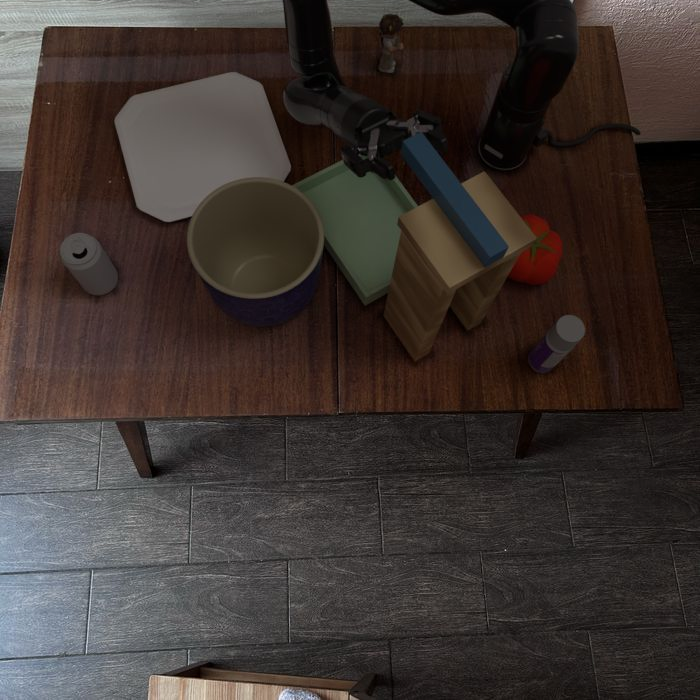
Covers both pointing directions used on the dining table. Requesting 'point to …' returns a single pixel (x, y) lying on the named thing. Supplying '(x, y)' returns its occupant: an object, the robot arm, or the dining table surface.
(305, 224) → the planter
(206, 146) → the plate
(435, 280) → the shelf
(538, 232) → the tomato
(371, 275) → the tray
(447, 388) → the dining table surface
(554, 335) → the container
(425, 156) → the bar
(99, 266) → the beverage can
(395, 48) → the toy
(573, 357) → the dining table surface
